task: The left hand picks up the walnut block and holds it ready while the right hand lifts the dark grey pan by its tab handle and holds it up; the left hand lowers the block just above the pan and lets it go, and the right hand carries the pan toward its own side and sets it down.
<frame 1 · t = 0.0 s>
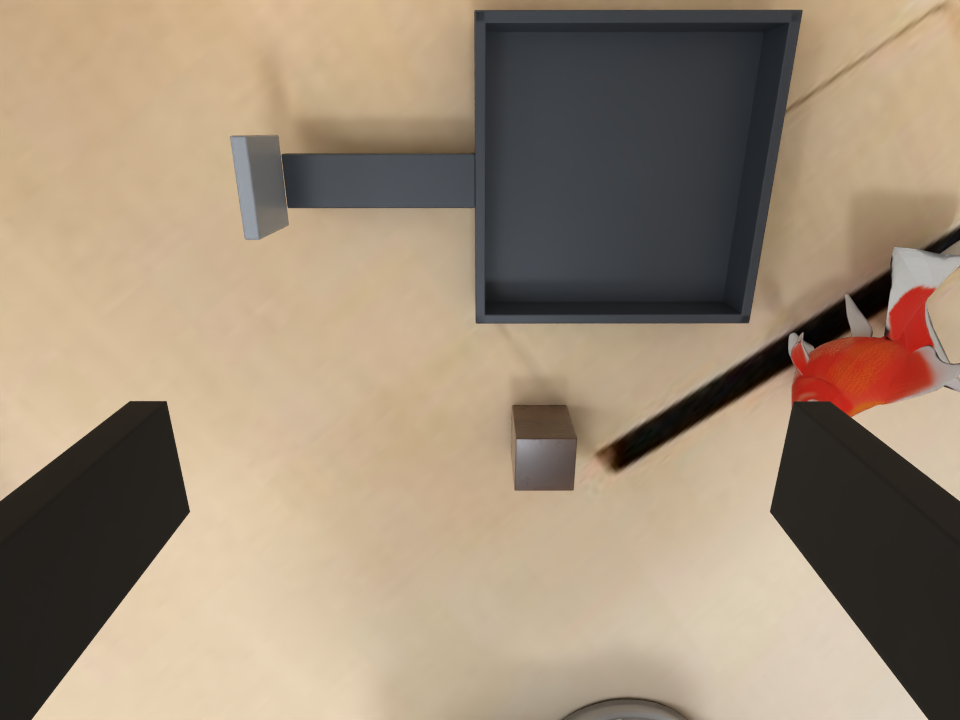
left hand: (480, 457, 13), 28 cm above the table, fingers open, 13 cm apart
walnut block: (538, 429, 44), on the table
fish: (848, 313, 41), on the table
pan: (611, 176, 37), on the table
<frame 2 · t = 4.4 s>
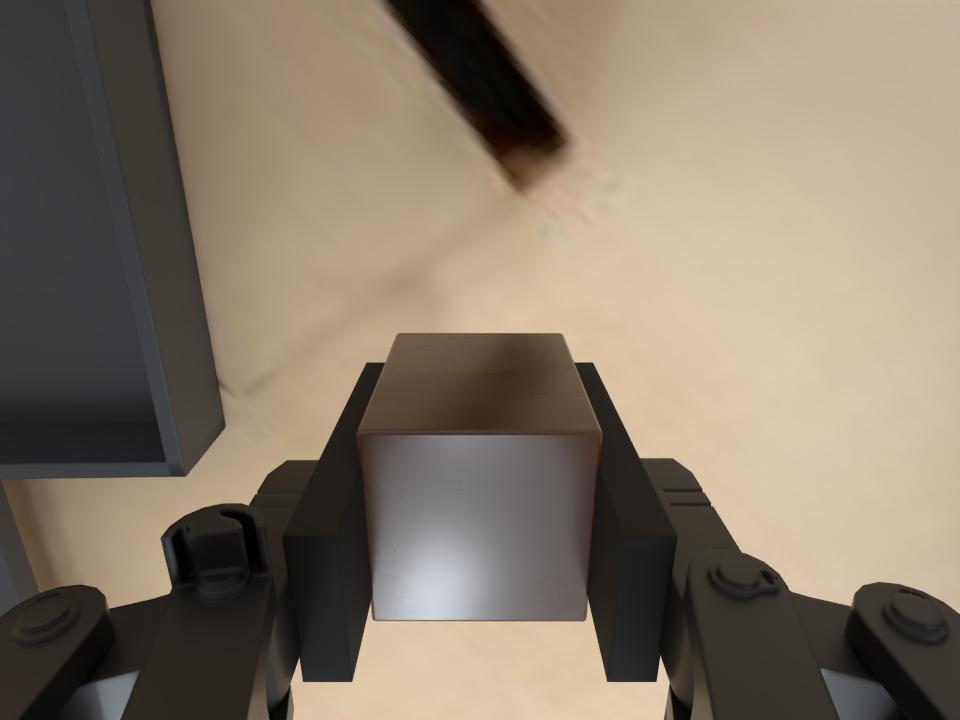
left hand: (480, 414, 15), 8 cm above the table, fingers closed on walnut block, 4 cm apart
walnut block: (479, 407, 15), point 8 cm above the table, touching left hand
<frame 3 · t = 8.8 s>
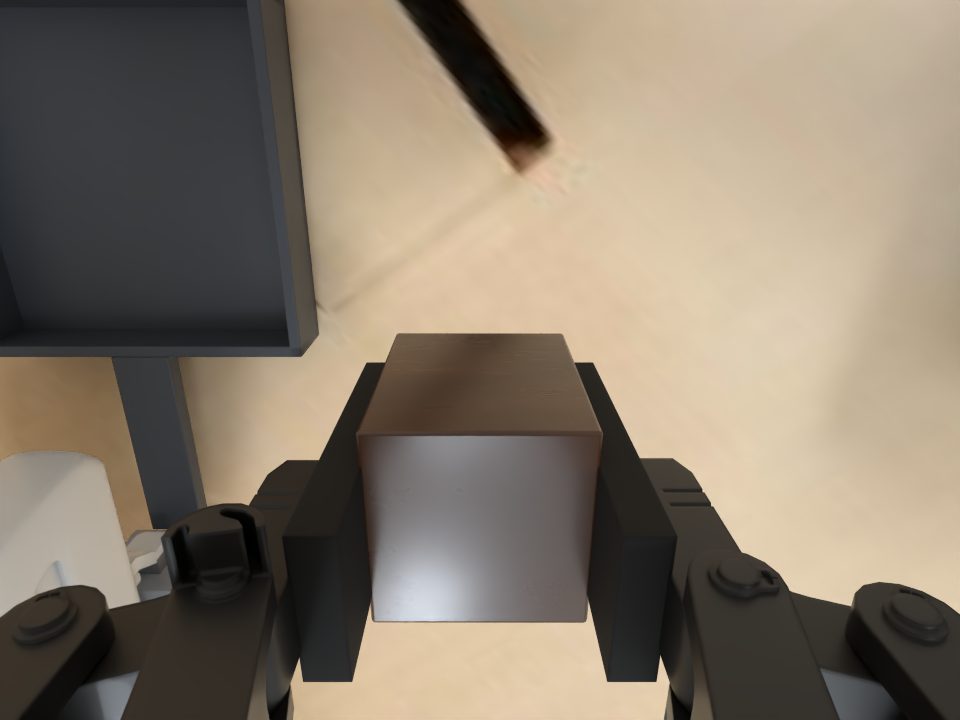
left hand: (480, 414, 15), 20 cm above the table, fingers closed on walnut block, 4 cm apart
walnut block: (479, 407, 15), point 19 cm above the table, touching left hand
pan: (141, 182, 31), on the table, touching right hand
when the left hand's fingers open (14 cm above the table, at t = 15.7 s): walnut block drops 9 cm and tips over, resting on pan.
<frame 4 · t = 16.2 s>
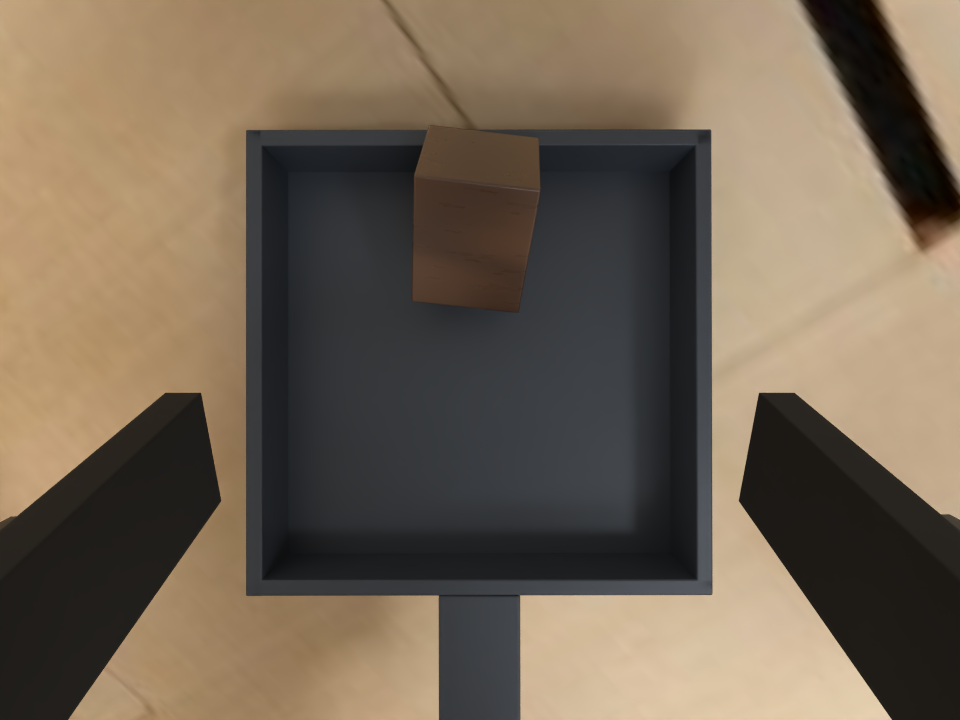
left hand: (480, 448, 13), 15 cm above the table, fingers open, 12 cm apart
walnut block: (468, 276, 23), point 4 cm above the table, tilted 68°, touching pan
pan: (479, 362, 25), point 3 cm above the table, tilted 21°, touching right hand, walnut block
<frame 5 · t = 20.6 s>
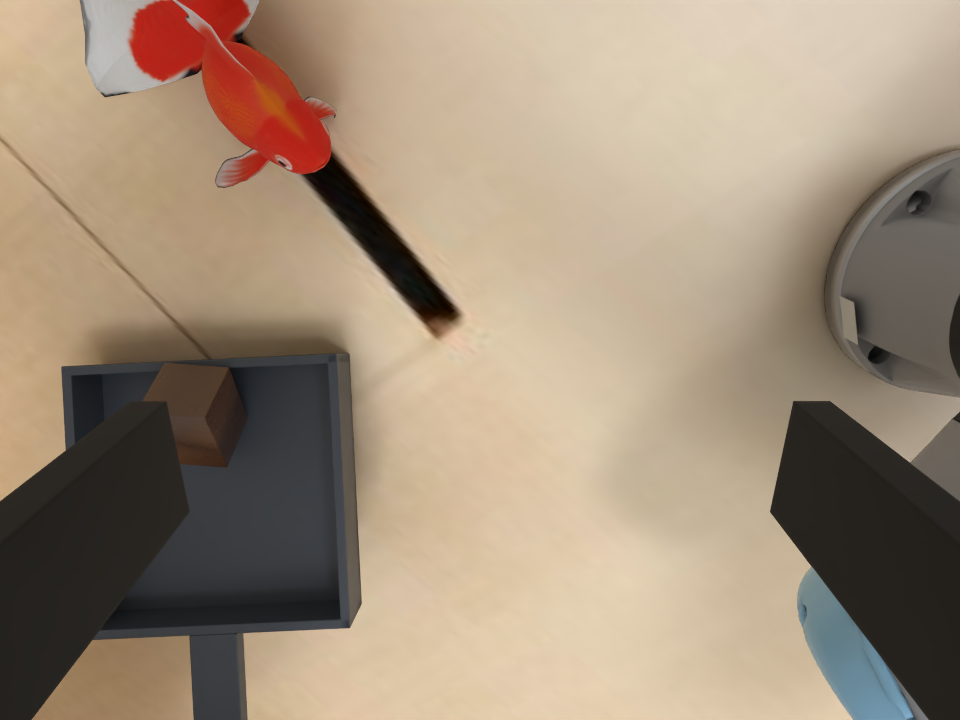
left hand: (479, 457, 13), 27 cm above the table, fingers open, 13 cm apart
walnut block: (207, 440, 38), point 4 cm above the table, tilted 66°, touching pan
fish: (236, 66, 34), on the table
pan: (230, 484, 40), point 3 cm above the table, tilted 21°, touching right hand, walnut block
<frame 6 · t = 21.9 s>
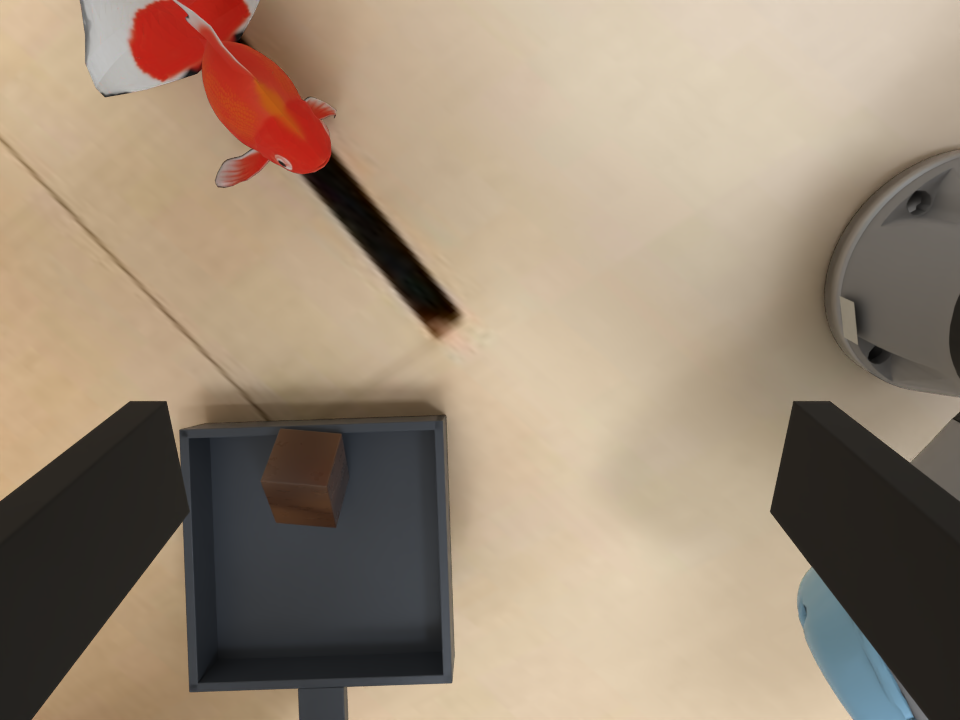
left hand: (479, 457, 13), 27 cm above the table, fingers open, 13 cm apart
walnut block: (313, 499, 40), point 4 cm above the table, tilted 66°, touching pan
fish: (236, 66, 34), on the table
pan: (329, 539, 42), point 3 cm above the table, tilted 21°, touching right hand, walnut block
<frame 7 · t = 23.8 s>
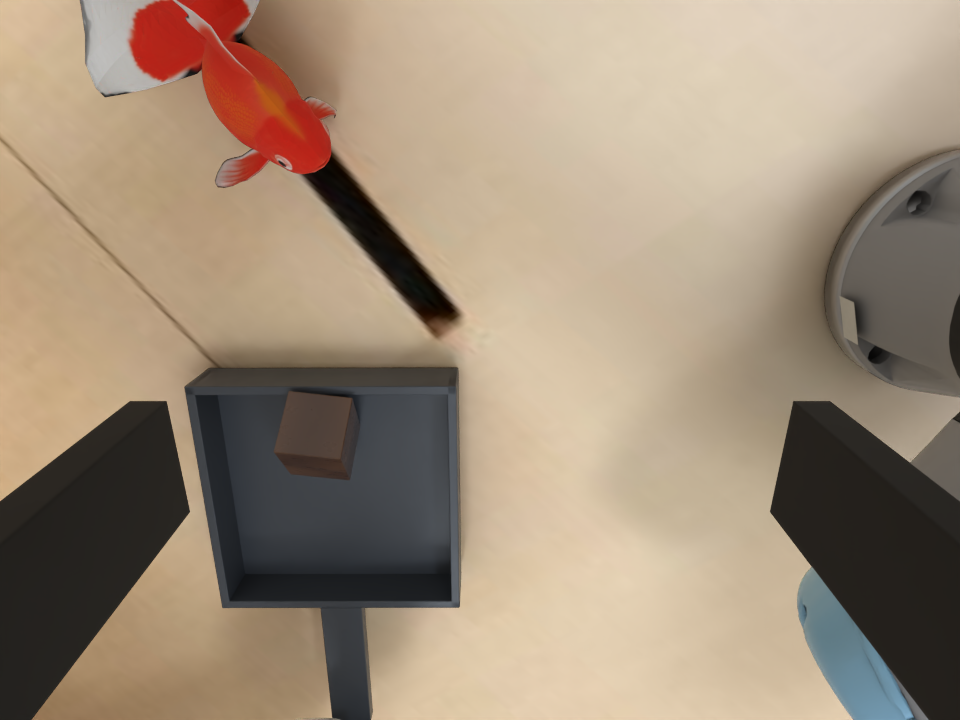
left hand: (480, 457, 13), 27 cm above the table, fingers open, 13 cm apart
walnut block: (326, 449, 40), point 2 cm above the table, tilted 47°, touching pan
fish: (236, 66, 34), on the table
pan: (342, 477, 43), on the table, touching right hand, walnut block
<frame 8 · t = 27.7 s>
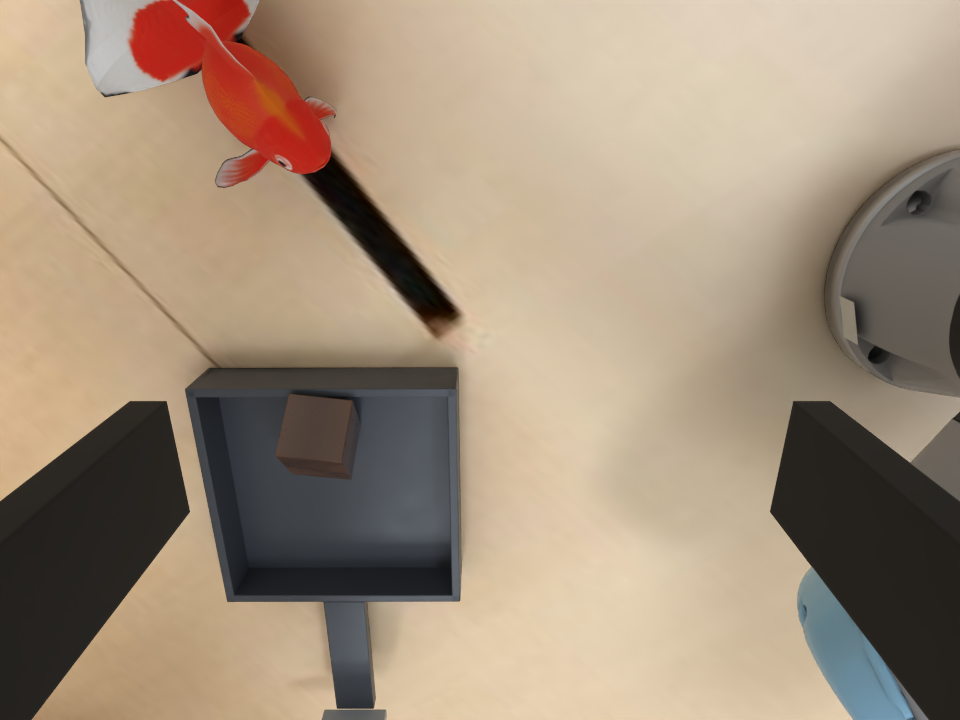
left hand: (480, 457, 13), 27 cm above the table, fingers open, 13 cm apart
walnut block: (327, 448, 41), point 2 cm above the table, tilted 45°, touching pan
fish: (236, 66, 34), on the table
pan: (344, 475, 44), on the table, touching walnut block
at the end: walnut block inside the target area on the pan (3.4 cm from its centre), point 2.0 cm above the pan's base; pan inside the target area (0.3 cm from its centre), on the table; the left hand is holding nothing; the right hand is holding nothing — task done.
